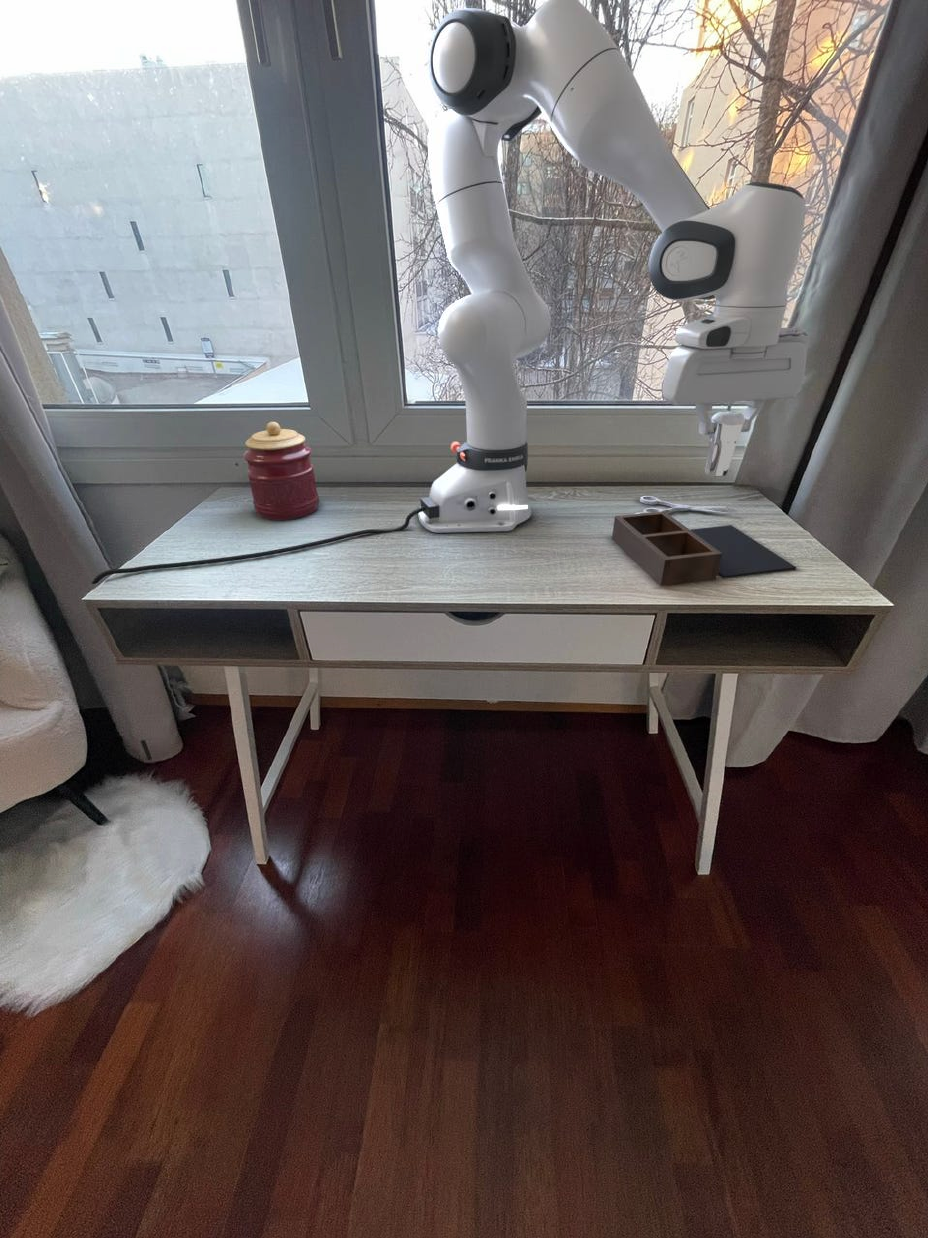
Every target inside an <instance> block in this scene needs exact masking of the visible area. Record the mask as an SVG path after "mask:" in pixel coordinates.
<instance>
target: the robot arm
mask: <svg viewBox="0 0 928 1238" xmlns="http://www.w3.org/2000/svg"><path fill="white" fill-rule="evenodd" d="M428 72H429V78H430V82H431V86H432V88H433V91H434V92H435V94H436V96H437V97H438V99H439V100H440V101H441V102H442V103H443V104H444V105H445V107H447V108H448V110H446V111H444V112H443V113H442V114H440V115H439V116H438V117H437V118H436V119H435V120H434V121H433V123H432V125H431V126H430V129H429V131H428V135H427V150H428V151H427V152H428V162H429V164H428V165H429V173H430V180H431V186H432V193H433V197H434V201H435V202H434V203H435V207H436V211H437V216H438V220H439V225H440V229H441V233H442V238H443V241H444V246H445V250H446V255H447V259H448V260H449V263H450V264H451V266H452V267H453V268H454V269H455V270H456V272H458V273H459V275H460V276H461V277H462V278H463V280H464V282H465V284H466V285H467V287H468V289H469V291H470V294H469V295H466V296H464V297H462V298H460V299H458V300H457V301H455V302H453V303H452V304H450V305H449V306H447V307H446V309H444V311H443V313H442V314H441V317H440V319H439V324H438V329H437V330H438V332H437V333H438V334H437V336H438V341H439V346H440V348H441V350H442V352H443V354H444V356H445V357H446V358H447V360H448V361H449V362H451V363H452V365H453V366H454V367H455V368H454V369H455V370H456V372H457V374H458V377H459V380H460V383H461V386H462V391H463V396H464V401H465V412H466V413H465V418H466V419H465V420H466V441H465V442H464V443H462V444H461V443H460V442H459V441H452V443H451V445H450V450H451V451H452V453H453V454H454V455H456V463H455V464H454V465H452V466H451V467H450V468H449V469H447V470H446V471H445V472H444V473H442V474H441V475H440V476H439V477H438V478H436V479H435V480H434V481H433V483H432V484H431V487H430V490H429V496H428V497H421V498H419V499H420V500H419V501H420V506H419V508H417V509H414V510H413V511H411V512H410V513H409V514H408V515H407V516H406V518H405V521H404V524H402V525H401V526H399V527H396V528H389V529H380V528H379V529H377V528H375V529H373V528H372V529H371V528H370V529H363V530H357V531H353V532H349V533H345V534H341V535H337V536H333V537H329V538H325V539H319V540H315V541H311V542H307V543H302V544H298V545H293V546H287V547H282V548H279V549H278V548H277V549H271V550H267V551H259V552H254V553H253V552H252V553H247V554H239V555H233V556H226V557H217V558H210V559H209V558H208V559H200V560H199V559H198V560H191V561H189V560H188V561H181V562H170V563H158V564H150V565H142V566H136V567H127V568H113V569H108V570H105V571H102V572H101V573H99V574H97V576H96V577H94V578H93V580H92V582H91V585H95V584H98V583H99V582H100V581H101V580H102V579H104V578H105V577H107V576H110V575H116V574H129V573H130V574H131V573H138V572H139V573H140V572H144V571H153V570H162V569H172V568H173V569H174V568H175V569H176V568H183V567H192V566H193V567H194V566H201V565H203V566H204V565H210V564H218V563H219V564H220V563H228V562H235V561H241V560H248V559H255V558H261V557H267V556H273V555H279V554H284V553H289V552H294V551H299V550H303V549H308V548H313V547H316V546H317V547H318V546H321V545H325V544H330V543H333V542H338V541H342V540H345V539H349V538H353V537H358V536H362V535H367V534H387V533H395V532H401V531H404V530H405V529H407V528H408V527H409V524H410V520H411V519H412V518H413V517H414V516H415V515H417V514H418V515H417V516H418V521H419V523H420V524H421V525H422V527H423V528H424V529H426V530H428V531H430V532H432V533H436V534H437V533H442V534H443V533H480V532H483V533H484V532H485V533H486V532H488V533H489V532H511V531H513V530H514V529H515V528H516V527H517V526H518V525H519V524H521V523H524V522H526V521H528V519H529V518H530V517H531V516H532V510H531V507H530V502H529V495H528V487H527V477H526V475H527V474H526V472H527V471H528V464H529V447H528V446H529V444H528V441H526V439H527V413H528V401H527V396H526V395H525V393H524V392H523V391H522V390H521V388H520V386H519V383H518V380H517V374H516V368H515V360H517V359H520V358H524V357H527V356H528V355H530V354H531V353H533V352H534V351H536V350H537V349H538V348H539V347H540V346H541V345H542V344H543V343H544V342H545V341H546V340H547V337H548V335H549V333H550V329H551V325H552V324H551V323H552V321H551V319H552V318H551V312H550V310H549V307H548V304H547V303H546V302H545V301H544V300H543V298H542V297H541V296H540V295H539V294H538V292H537V291H536V289H535V287H534V285H533V282H532V281H531V278H530V276H529V273H528V271H527V269H526V267H525V264H524V262H523V259H522V256H521V253H520V251H519V248H518V246H517V242H516V239H515V234H514V231H513V230H514V229H513V226H512V220H511V216H510V211H509V205H508V201H507V196H506V195H507V194H506V191H505V186H504V181H503V175H502V170H501V166H500V158H499V147H500V143H501V142H502V141H503V142H510V141H512V140H514V139H515V138H517V136H518V135H519V134H520V133H521V132H522V131H523V129H524V128H526V127H528V126H529V125H530V124H532V123H533V122H534V121H535V120H536V119H537V118H539V116H540V115H542V114H543V115H544V117H545V119H546V120H547V122H548V124H549V125H550V128H551V129H552V130H553V132H554V133H555V135H556V137H557V138H558V140H559V141H560V143H561V144H562V145H563V147H564V148H565V149H566V150H567V151H568V152H569V153H570V155H571V156H572V157H573V158H574V159H575V160H576V161H577V162H578V163H579V164H580V165H581V166H582V167H584V168H585V169H587V170H588V171H591V172H593V173H595V174H597V175H599V176H602V177H605V178H606V179H609V180H611V181H613V182H615V183H617V184H619V185H621V186H622V187H623V188H625V189H627V190H628V191H629V192H631V193H632V194H633V195H634V196H635V197H636V198H637V199H638V200H639V201H640V202H641V204H642V205H643V207H644V208H645V209H646V211H647V212H648V214H649V215H650V217H651V218H652V219H653V221H654V223H655V224H656V226H657V227H658V228H659V230H660V231H661V233H660V235H659V236H658V237H657V239H656V240H655V242H654V243H653V245H652V248H651V251H650V254H649V257H648V264H647V265H648V277H649V281H650V283H651V285H652V287H653V288H654V290H655V291H656V292H657V293H658V294H659V295H660V296H662V297H664V298H666V299H668V300H672V301H677V302H685V301H695V300H696V301H697V300H703V301H709V300H714V299H715V301H714V307H713V312H712V313H709V314H708V315H705V316H702V317H700V318H698V319H696V320H693V321H691V322H689V323H686V324H683V325H681V326H679V327H678V328H677V329H676V331H675V337H674V340H675V343H676V344H678V346H676V347H675V348H674V349H673V350H672V352H671V353H670V355H669V357H668V361H667V364H666V369H665V373H664V377H663V384H662V389H661V394H662V397H663V399H664V401H665V402H666V403H668V404H671V405H672V406H677V407H678V406H694V405H695V407H694V410H695V413H696V415H697V418H698V420H699V426H698V433H699V435H701V436H709V434H713V433H714V428H715V424H716V423H715V422H712V421H711V418H710V414H709V412H712V410H713V405H714V404H721V403H722V404H723V403H729V402H732V403H737V402H739V403H740V402H745V406H747V407H746V409H745V411H743V413H742V415H743V416H744V419H745V422H744V425H743V427H742V430H741V433H747V432H748V433H749V432H750V430H751V427H752V422H753V420H754V419H755V418H756V417H757V415H759V413H760V412H761V410H762V409H763V406H764V402H765V401H767V400H783V399H794V398H795V397H797V395H798V394H799V393H800V392H801V390H802V387H803V384H804V379H805V373H806V365H807V356H808V355H807V353H808V349H809V345H810V340H811V339H810V335H809V333H808V332H807V331H806V330H805V328H804V327H801V326H794V327H782V326H783V321H784V317H785V313H786V311H787V305H788V286H789V282H790V279H791V277H792V275H793V273H794V271H795V269H796V266H797V263H798V258H799V254H800V249H801V245H802V240H803V234H804V228H805V222H806V208H807V205H806V200H805V197H804V196H803V194H802V193H801V192H800V191H799V190H798V189H796V188H795V187H792V186H789V185H788V186H787V185H783V184H779V183H774V182H773V183H772V182H765V181H761V182H760V181H751V182H749V183H745V184H743V185H742V187H740V188H739V189H738V190H737V191H736V192H735V193H734V194H732V195H731V196H729V197H728V198H726V199H725V200H723V201H722V202H720V203H719V204H717V205H715V206H713V207H711V208H710V207H709V206H708V204H707V203H706V202H705V200H704V198H703V197H702V196H701V194H700V193H699V191H698V189H697V188H696V187H695V186H694V183H692V181H691V179H690V178H689V176H688V175H687V174H686V172H685V170H684V169H683V168H682V165H680V163H679V161H678V160H677V159H676V156H675V155H674V154H673V152H672V151H671V149H670V148H669V146H668V143H667V141H666V139H665V138H664V136H663V134H662V131H661V130H660V127H659V125H658V123H657V122H656V119H655V117H654V115H653V113H652V110H651V109H650V106H649V104H648V102H647V100H646V98H645V95H644V93H643V91H642V88H641V87H640V85H639V83H638V81H637V79H636V77H635V75H634V73H633V71H632V69H631V67H630V65H629V64H628V62H627V60H626V58H625V57H624V55H623V54H622V52H621V50H620V49H619V47H618V46H617V44H616V43H615V41H614V40H613V38H612V36H611V35H610V34H609V32H608V31H607V29H605V27H604V26H603V25H602V24H601V23H600V21H599V20H598V19H597V18H596V17H595V16H594V14H593V13H592V12H591V11H590V10H589V9H588V8H586V6H585V5H584V4H583V3H582V2H580V0H547V1H546V2H544V3H543V4H542V5H541V6H540V7H539V8H538V9H537V11H535V12H534V14H533V16H532V17H531V18H530V20H529V21H528V22H526V24H525V25H523V26H520V25H518V24H517V23H516V22H513V21H512V20H510V19H509V18H508V16H505V15H501V14H498V13H495V12H491V11H488V10H486V9H482V8H475V7H474V8H473V7H469V8H468V7H467V8H458V9H456V10H453V11H451V12H449V13H448V14H447V15H445V17H443V19H442V20H441V21H440V23H439V24H438V25H437V27H436V29H435V30H434V34H433V35H432V39H431V42H430V46H429V52H428ZM139 742H140V744H141V747H142V749H143V751H144V754H145V757H146V760H147V761H151V760H152V759H153V757H152V755H151V752H150V749H149V747H148V744H147V742H146V740H145V739H143V740H140V741H139Z"/></svg>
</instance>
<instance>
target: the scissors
mask: <svg viewBox="0 0 928 1238" xmlns="http://www.w3.org/2000/svg"><path fill="white" fill-rule="evenodd" d="M639 502H640V503H642V504H645V505H662V506H663V505H664V506H667V507H670V508H656V507H647V508H644V509H643V510H642V511H640V512H639V511H638V512H634V514H643V513H653V512H663V511H665V512H666V513H668V514H670V513H673V512H684V511H696V512H705V513H706V512H707V513H714V514H715V513H716V514H724V515H734V512H733V513H732V512H727V511H726V512H725V511H719V510H712V509H719V508H720V509H721V508H723V509H724V508H725V506H721V505H718V506H717V505H689V504H681V503H675V502H670V501H667V500H662V499H659V498H658V497H655V496H653V495H641V496H640V497H639ZM736 515H737V516H739V515H740V516H741V514H739V513H736Z"/></svg>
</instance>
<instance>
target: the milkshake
mask: <svg viewBox="0 0 928 1238" xmlns="http://www.w3.org/2000/svg"><path fill="white" fill-rule="evenodd" d="M732 404H733V402H727V408H726V411H718V412H716V413H715V414H714V415H712V417H711V418H710V421H712V422H715V423H716V424H715V428H714V433H713V434H709V435H708V445H707V451H706V457H705V464H704V472H703V473H704V474H705V475H707V476H712V477H716V478H717V477H720V478H721V477H722V478H723V477H725V476H727V475H728V471H729V468H730V465H731V461H732V459H733V455H734V452H735V449H736V446H737V443H738V442H739V441H738V440H739V438H740V435H741V433H742V432H741V430H742V427H743V425H744V422H745V419H744V416H743V413H742V412H734V411H733V412H732V411H731V409H732Z"/></svg>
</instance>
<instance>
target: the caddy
mask: <svg viewBox="0 0 928 1238" xmlns="http://www.w3.org/2000/svg"><path fill="white" fill-rule="evenodd" d="M612 526H613V527H612V535H611V541H612V542H613V543H615V544H616V546H617V547H619V549H621V550H622V552H624V553H625V554H626V555H627V556H628V557H629V558H630V559H631V560H633V561H634V563H636V565H638V566H639V567H640V568H641V569H642V570H643V571H644V572H645V573H646V574H647V575H648V576H649V577H650V578H651V579H652V580H653V581H654V582H656V583H657V584H658V586H660V587H665V586H673V585H681V584H687V583H688V584H689V583H698V582H706V581H713V580H714V581H715V580H717V578H718V571H719V566H720V562H721V558H722V553H721V552H720V551H718V550H717V549H716V548H714V547H713V546H711V545H710V544H709V543H707V542H706V541H705V540H703V539H702V538H700V537H699V536H698V535H696V534H695V533H694V532H692V531H691V529H690V528H688V527H687V526H686V525H684V524H683V523H681V521H679V520H677V519H676V518H674V517H673V516H672V515H671V514H670V513H666V512H665V511H663V512H650V513H643V514H635V513H634V514H624V515H615V516H614V518H613V525H612Z"/></svg>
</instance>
